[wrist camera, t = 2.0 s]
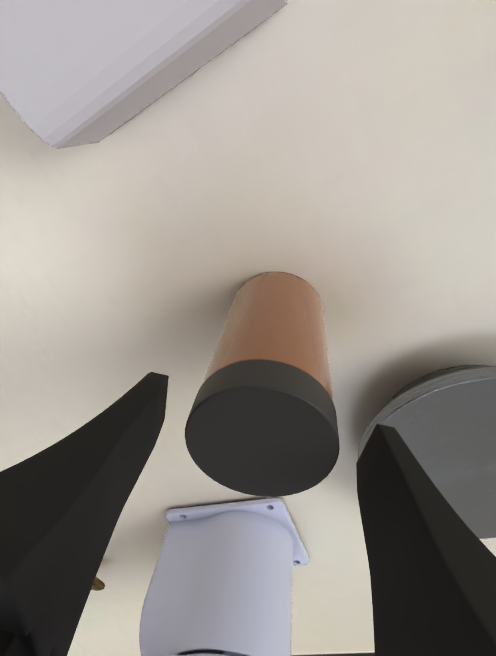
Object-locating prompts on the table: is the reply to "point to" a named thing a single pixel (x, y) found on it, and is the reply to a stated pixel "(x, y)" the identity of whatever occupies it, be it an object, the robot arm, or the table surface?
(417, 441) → the steel stand
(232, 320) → the spice jar
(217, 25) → the charger
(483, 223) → the table surface
